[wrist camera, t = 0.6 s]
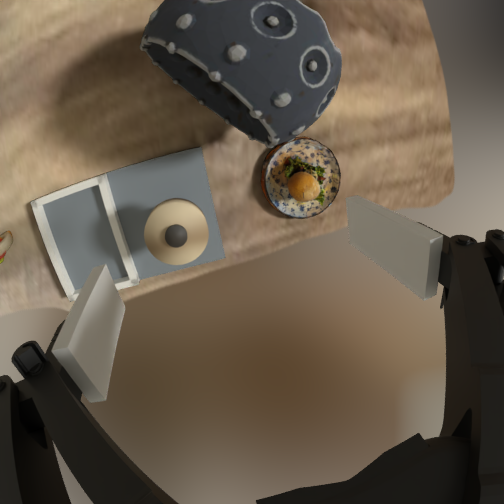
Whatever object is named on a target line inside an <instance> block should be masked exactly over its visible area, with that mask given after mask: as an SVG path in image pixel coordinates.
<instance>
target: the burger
mask: <svg viewBox="0 0 504 504" xmlns="http://www.w3.org/2000/svg"><path fill="white" fill-rule="evenodd" d="M340 177H341V173H340V168H339V164H338V162H337V160H336V158H335V156H334V154H333V153H332V151H331V150H330V149H328V148H327V147H325V146H324V145H322V144H321V143H320V142H318V141H317V140H313V139H311V138H309V137H295V139H294V140H292V141H290V142H283V143H281V144H280V146H279V145H277V148H275V149H274V150H272V151H271V152H270V153H269V154H268V155H267V157H266V159H265V161H264V163H263V169H262V179H261V185H262V190H263V192H264V194H265V197H266V198H267V201H269V203H270V204H271V206H272V207H273V208H274V209H276V210H277V211H279V212H280V213H282V214H284V215H286V216H289V217H292V218H297V219H305V218H310V217H313V216H316V215H318V214H320V213H322V212H323V211H324V210H325V209H326V208H328V207H329V206H330V205H331V203H332V202H333V200H334V199H335V197H336V195H337V193H338V191H339V187H340Z"/></svg>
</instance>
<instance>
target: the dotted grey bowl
mask: <svg viewBox="0 0 504 504" xmlns="http://www.w3.org/2000/svg"><path fill="white" fill-rule="evenodd" d="M140 49H141V50H142V51H145V52H146V53H147V55H148V56H149V57H150V58H151V59H152V63H153V65H157V66H159V67H160V68H161V69H162V70H163V71H164V72H165V73H166V74H167V75H168V76H169V77H171V78H172V79H173V83H174V84H179V85H180V86H181V87H182V88H184V89H185V90H186V91H187V92H189V93H190V94H191V95H192V96H194V97H195V98H196V99H197V100H198V102H199V104H201V105H205V106H206V107H208V108H209V109H210V110H212V111H213V112H214V113H216V114H217V115H218V116H220V117H221V118H223V119H224V121H225V123H226V124H231V125H233V126H234V127H236V128H237V129H238V130H240V131H242V132H243V133H245V134H246V135H248V138H249V139H250V140H256V141H258V142H261V143H263V144H265V145H266V147H267V148H273V147H274V146H275V145H278V144H280V143H283V142H290V141H292V140H294V139H295V137H296V136H297V135H299V134H300V133H302V132H303V131H304V130H306V129H307V128H308V127H309V126H311V125H312V124H313V123H314V122H315V121H316V120H317V119H318V118H319V117H320V116H321V115H322V113H323V112H324V111H325V109H326V108H327V107H328V105H329V104H330V102H331V100H332V98H333V97H334V95H335V92H336V90H337V87H338V84H339V80H340V77H341V68H342V60H341V52H340V49H339V48H337V47H336V46H335V45H334V43H333V41H332V39H331V37H330V35H329V33H328V30H327V27H326V23H325V22H324V20H323V19H322V17H321V16H320V15H319V14H318V12H317V11H314V10H312V9H310V8H309V7H307V6H305V5H304V4H302V3H301V2H300V1H298V0H164V1H163V3H162V4H161V5H160V6H159V7H158V9H157V10H156V11H154V12H153V13H152V14H151V15H150V18H149V22H148V24H147V25H146V27H145V31H144V34H143V36H142V42H141V44H140Z"/></svg>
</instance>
